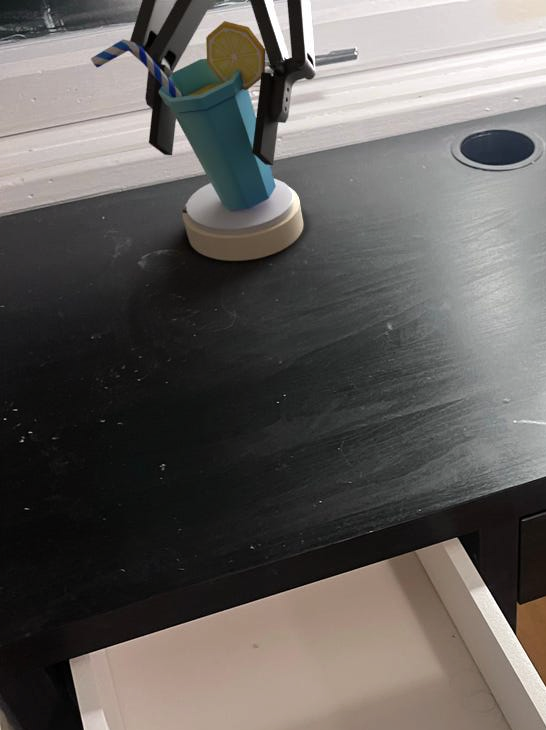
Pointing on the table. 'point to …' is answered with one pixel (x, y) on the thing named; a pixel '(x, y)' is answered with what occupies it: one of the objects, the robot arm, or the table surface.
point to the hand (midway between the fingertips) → (211, 154)
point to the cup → (217, 110)
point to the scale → (242, 224)
